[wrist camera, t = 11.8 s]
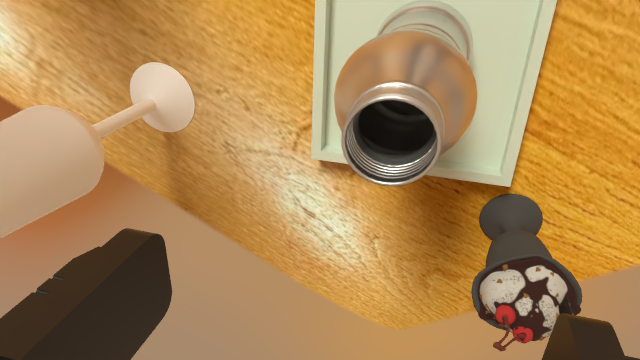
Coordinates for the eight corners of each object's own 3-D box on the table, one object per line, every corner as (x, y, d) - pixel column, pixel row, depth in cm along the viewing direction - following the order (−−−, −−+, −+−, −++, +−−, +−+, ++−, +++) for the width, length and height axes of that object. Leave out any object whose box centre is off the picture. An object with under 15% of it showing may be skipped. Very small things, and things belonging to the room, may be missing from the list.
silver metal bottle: (481, 71, 34) (506, 201, 17) (392, 96, 36) (334, 232, 19) (460, -19, 32) (465, 24, 14) (367, 14, 34) (276, 85, 17)
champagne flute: (119, 103, 44) (-178, 242, 23) (145, 46, 41) (-177, 149, 20) (177, 146, 45) (-66, 319, 24) (206, 93, 41) (-46, 241, 21)
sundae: (453, 205, 40) (451, 330, 27) (530, 171, 37) (569, 293, 24) (491, 262, 41) (506, 406, 28) (567, 233, 38) (623, 380, 25)
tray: (326, -118, 32) (318, -122, 30) (579, -116, 28) (587, -120, 27) (317, 149, 41) (311, 158, 39) (507, 175, 37) (509, 186, 36)
